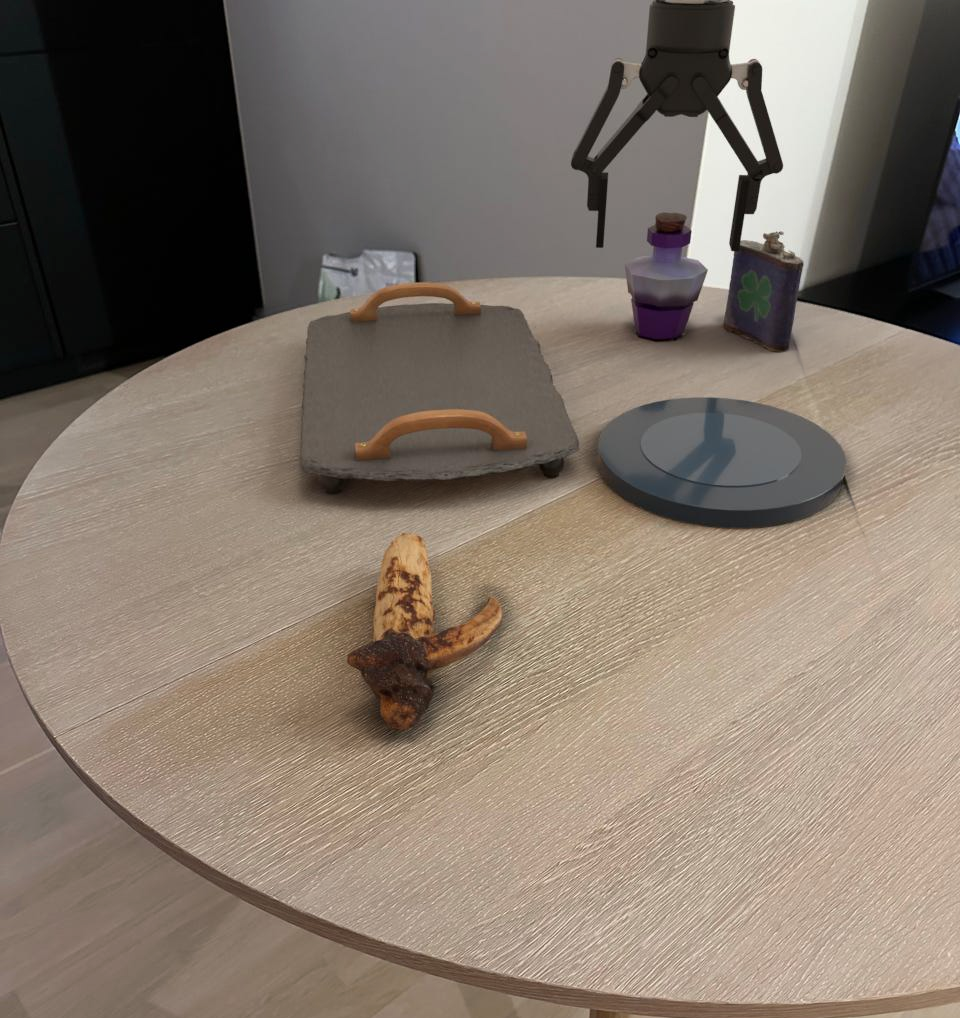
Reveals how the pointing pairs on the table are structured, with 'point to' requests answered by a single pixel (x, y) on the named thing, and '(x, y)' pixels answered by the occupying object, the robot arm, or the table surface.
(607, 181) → the robot arm
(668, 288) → the potion bottle
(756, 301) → the flask
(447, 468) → the serving tray
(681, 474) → the plate
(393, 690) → the bone fish hook
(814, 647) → the table surface
